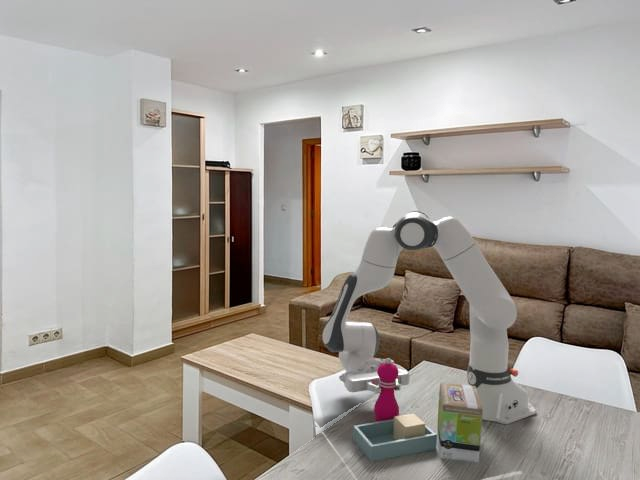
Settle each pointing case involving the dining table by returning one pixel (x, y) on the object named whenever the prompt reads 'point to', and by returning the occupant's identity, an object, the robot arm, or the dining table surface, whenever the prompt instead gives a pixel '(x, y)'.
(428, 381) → the dining table surface
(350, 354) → the robot arm
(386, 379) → the pepper mill
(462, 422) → the tea box
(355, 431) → the box
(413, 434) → the tan wooden cube
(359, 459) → the dining table surface
